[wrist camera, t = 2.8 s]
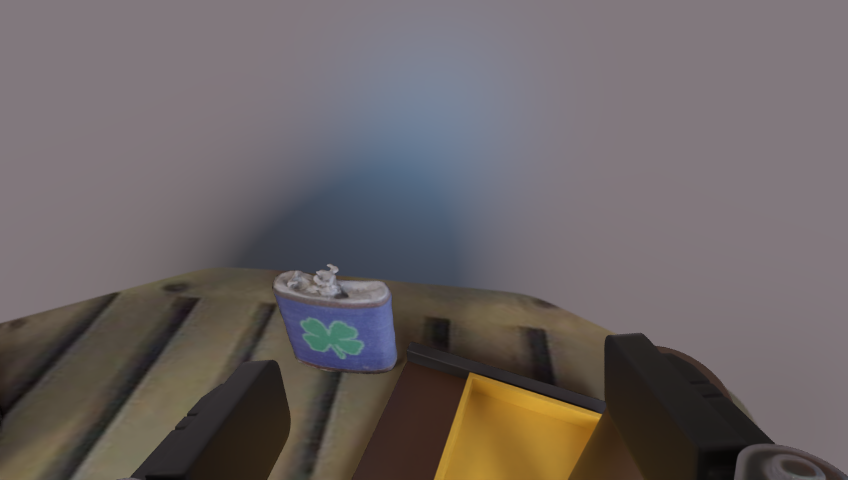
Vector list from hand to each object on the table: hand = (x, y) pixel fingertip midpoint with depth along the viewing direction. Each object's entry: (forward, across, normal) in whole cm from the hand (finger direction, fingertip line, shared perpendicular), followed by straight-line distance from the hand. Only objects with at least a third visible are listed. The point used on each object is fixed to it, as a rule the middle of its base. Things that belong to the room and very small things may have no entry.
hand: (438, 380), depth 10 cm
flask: (+23, +10, +13) cm, 28 cm away
